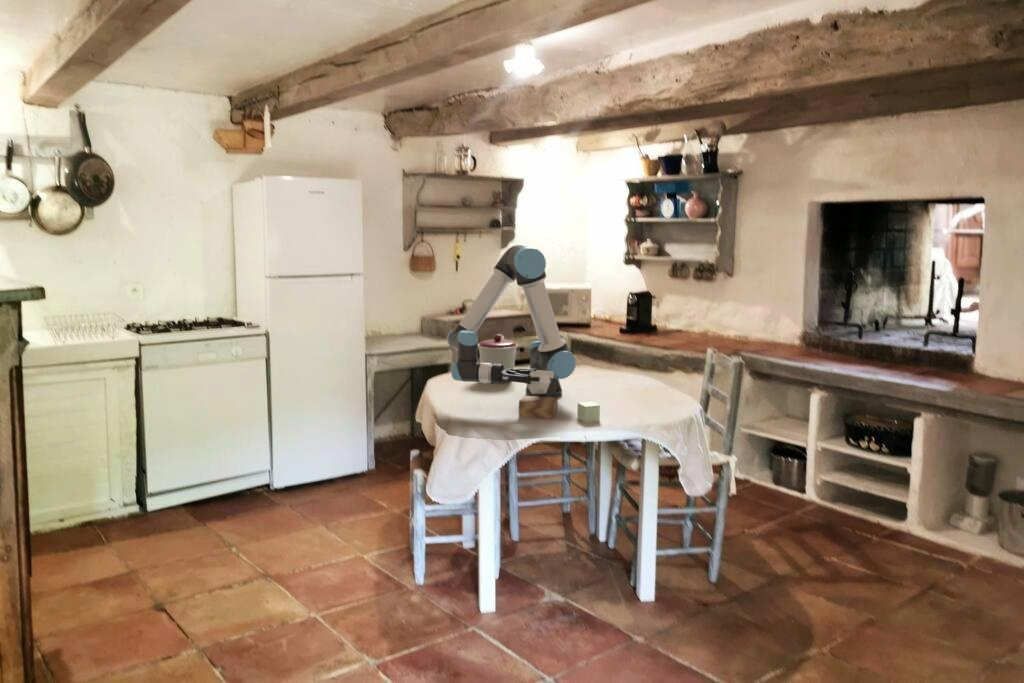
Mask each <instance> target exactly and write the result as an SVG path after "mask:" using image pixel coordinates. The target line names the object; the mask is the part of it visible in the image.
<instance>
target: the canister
mask: <svg viewBox="0 0 1024 683" xmlns="http://www.w3.org/2000/svg"><path fill="white" fill-rule="evenodd" d="M518 344H519V343H517V342H515V341H513V340H510V339H505V338H504V339H503V338H502V335H501V334H494V336H493V339H486V340H481V341H480V342H478V354H479V363H492V364H502V365H503V366H504V369H505V370H508V368H515V364H516V362H515V360H516V354H517V348H518V347H519V345H518ZM502 383H508V381H503V382H502Z"/></svg>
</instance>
